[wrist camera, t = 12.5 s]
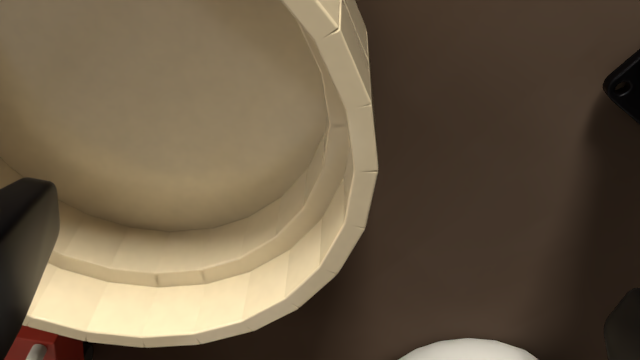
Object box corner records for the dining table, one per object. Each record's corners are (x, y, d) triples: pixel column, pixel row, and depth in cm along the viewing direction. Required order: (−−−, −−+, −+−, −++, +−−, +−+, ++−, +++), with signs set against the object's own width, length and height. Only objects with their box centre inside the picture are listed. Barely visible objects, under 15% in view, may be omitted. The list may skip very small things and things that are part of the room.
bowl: (469, 40, 19) (506, 126, 15) (221, 295, 27) (197, 399, 23) (-16, -354, 14) (-188, -404, 9) (-144, 113, 22) (-268, 203, 17)
